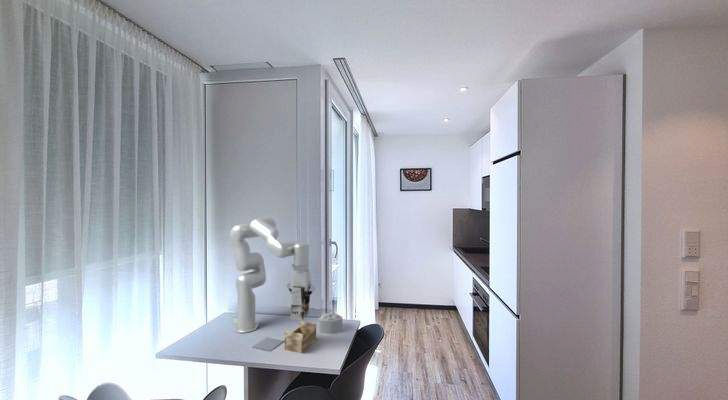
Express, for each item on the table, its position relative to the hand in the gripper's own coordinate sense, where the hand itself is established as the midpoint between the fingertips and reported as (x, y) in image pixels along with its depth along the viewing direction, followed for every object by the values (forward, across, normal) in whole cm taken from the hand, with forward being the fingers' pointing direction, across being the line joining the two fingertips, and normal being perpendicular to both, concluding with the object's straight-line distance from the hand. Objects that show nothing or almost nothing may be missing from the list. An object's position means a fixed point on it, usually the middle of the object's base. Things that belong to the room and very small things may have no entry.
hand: (300, 302), depth 151 cm
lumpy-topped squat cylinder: (+22, +7, +22) cm, 32 cm away
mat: (+22, -15, -5) cm, 27 cm away
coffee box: (+8, 0, 0) cm, 8 cm away
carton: (+22, +1, 0) cm, 22 cm away
